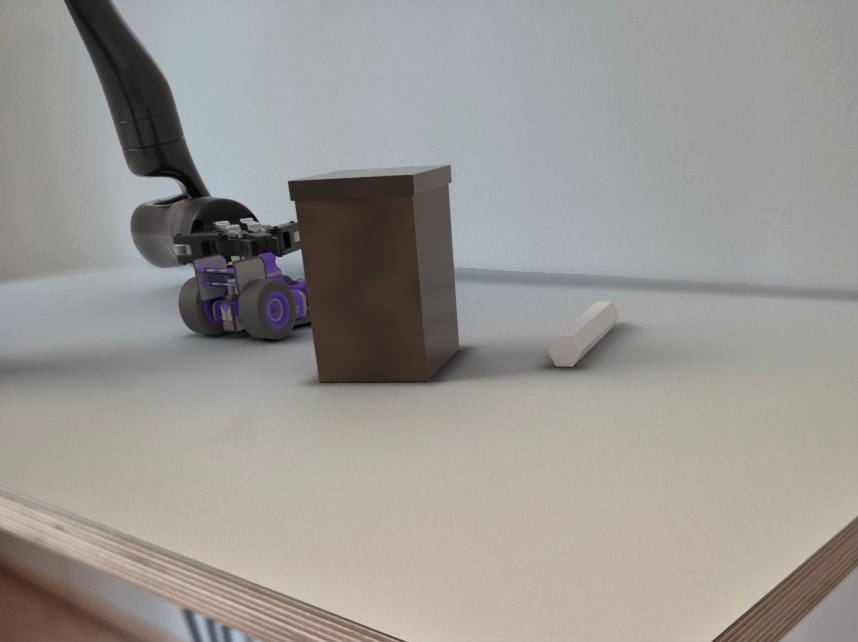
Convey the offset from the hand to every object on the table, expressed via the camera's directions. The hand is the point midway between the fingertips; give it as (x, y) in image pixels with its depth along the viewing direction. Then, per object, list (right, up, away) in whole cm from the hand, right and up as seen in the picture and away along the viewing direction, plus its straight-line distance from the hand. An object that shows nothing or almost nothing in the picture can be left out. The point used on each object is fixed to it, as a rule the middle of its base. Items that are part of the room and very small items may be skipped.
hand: (267, 248), depth 86 cm
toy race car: (+1, -6, +3) cm, 7 cm away
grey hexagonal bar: (+28, -12, -11) cm, 32 cm away
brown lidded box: (+12, -14, -14) cm, 24 cm away
